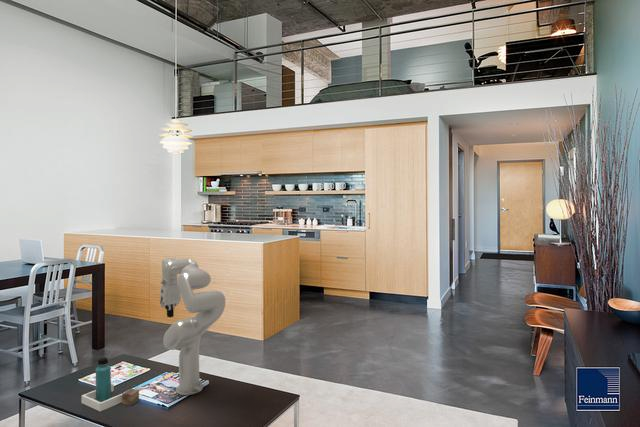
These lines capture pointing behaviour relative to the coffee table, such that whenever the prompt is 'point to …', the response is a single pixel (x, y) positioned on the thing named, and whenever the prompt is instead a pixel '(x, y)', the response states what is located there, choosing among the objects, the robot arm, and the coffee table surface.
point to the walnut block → (130, 397)
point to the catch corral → (100, 406)
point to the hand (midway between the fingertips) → (170, 316)
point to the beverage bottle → (103, 380)
